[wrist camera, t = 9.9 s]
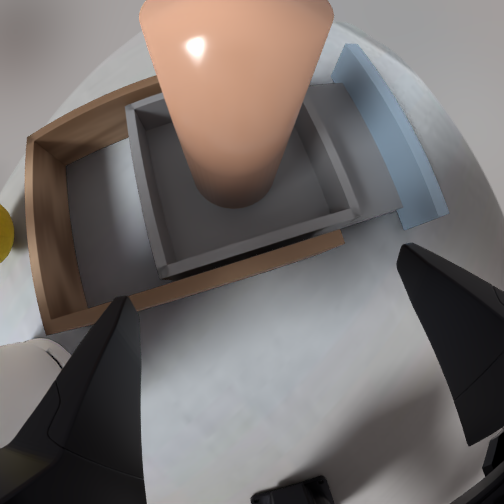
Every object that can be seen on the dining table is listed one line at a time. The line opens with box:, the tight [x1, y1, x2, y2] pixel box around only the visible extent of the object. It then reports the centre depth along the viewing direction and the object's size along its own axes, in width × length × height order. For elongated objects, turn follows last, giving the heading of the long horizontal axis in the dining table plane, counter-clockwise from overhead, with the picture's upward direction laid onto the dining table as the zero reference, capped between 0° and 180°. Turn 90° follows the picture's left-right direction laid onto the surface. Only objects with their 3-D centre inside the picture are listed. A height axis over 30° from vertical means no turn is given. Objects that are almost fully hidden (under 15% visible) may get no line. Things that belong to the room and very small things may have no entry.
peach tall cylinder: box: [139, 0, 334, 209], centre depth 12 cm, size 6×6×13 cm
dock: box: [25, 75, 345, 335], centre depth 16 cm, size 14×18×5 cm
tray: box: [125, 44, 449, 281], centre depth 17 cm, size 15×18×4 cm
